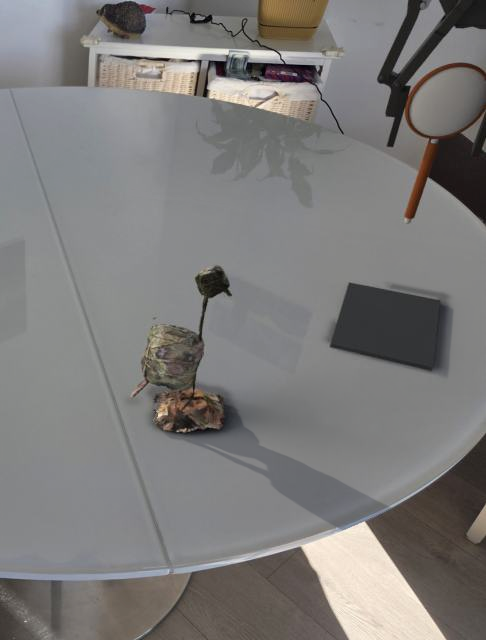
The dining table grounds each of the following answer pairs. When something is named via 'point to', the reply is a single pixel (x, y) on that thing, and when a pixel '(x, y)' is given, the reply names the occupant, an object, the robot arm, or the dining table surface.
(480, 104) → the magnifying glass
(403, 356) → the mat
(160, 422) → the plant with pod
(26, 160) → the dining table surface
